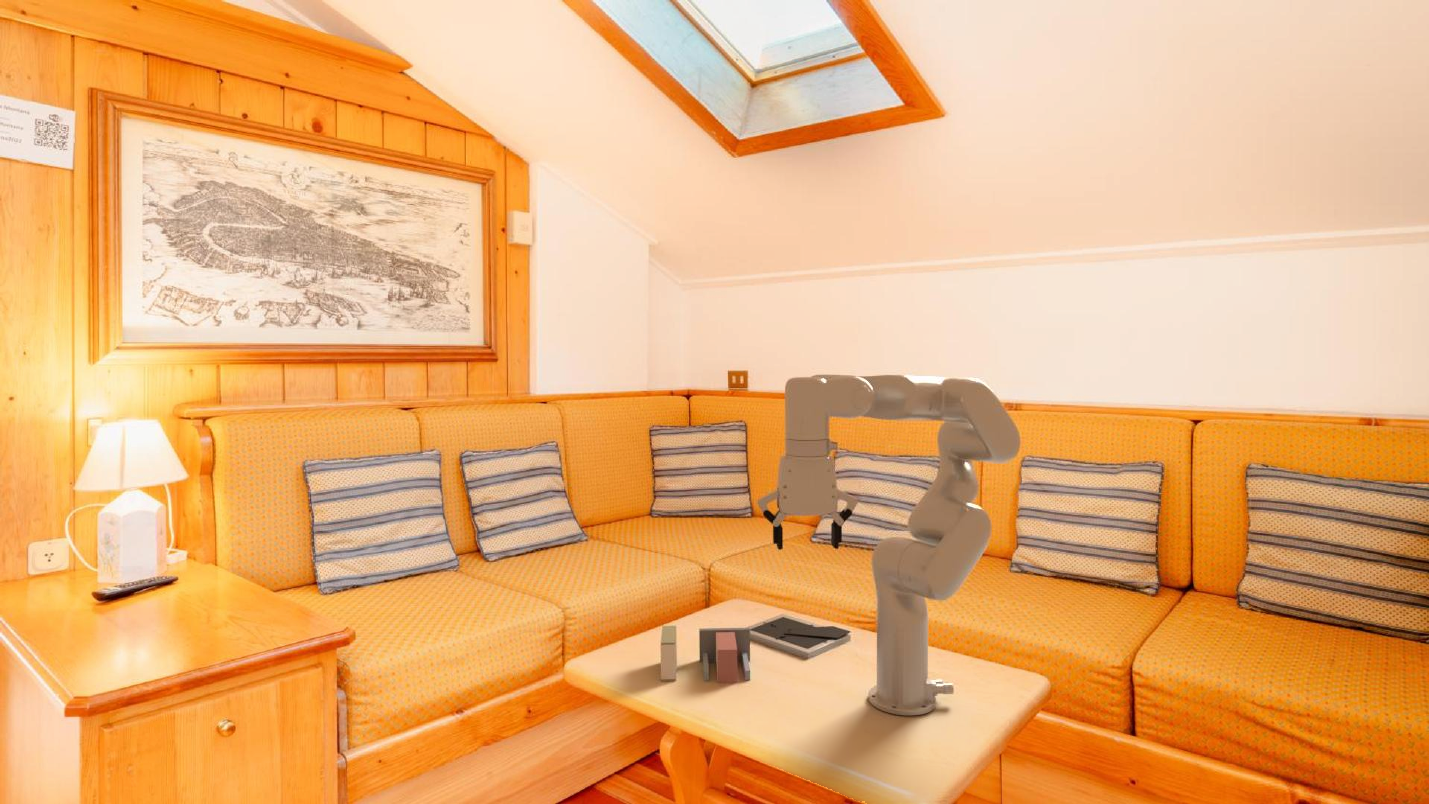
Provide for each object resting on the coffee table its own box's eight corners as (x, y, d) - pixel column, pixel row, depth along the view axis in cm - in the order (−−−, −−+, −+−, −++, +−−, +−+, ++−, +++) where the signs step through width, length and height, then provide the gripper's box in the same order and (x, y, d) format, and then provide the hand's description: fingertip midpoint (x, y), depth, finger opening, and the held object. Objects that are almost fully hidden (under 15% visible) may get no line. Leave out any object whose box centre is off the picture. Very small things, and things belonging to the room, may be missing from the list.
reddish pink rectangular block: (734, 663, 169) (734, 632, 168) (737, 683, 159) (737, 649, 158) (716, 664, 169) (715, 632, 168) (717, 683, 159) (717, 649, 158)
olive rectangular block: (676, 661, 170) (676, 625, 170) (676, 680, 160) (675, 642, 159) (662, 662, 170) (662, 625, 169) (661, 681, 160) (660, 643, 159)
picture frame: (850, 643, 182) (782, 622, 197) (850, 631, 182) (782, 611, 196) (808, 662, 171) (739, 638, 186) (808, 649, 171) (739, 626, 185)
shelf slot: (749, 658, 171) (749, 627, 171) (753, 680, 160) (753, 646, 160) (699, 659, 171) (699, 628, 170) (700, 681, 160) (700, 647, 159)
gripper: (852, 445, 138) (852, 541, 139) (755, 447, 137) (755, 543, 138) (861, 451, 130) (861, 552, 131) (758, 452, 130) (759, 553, 131)
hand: (807, 547), depth 135 cm, fingers open, 9 cm apart
